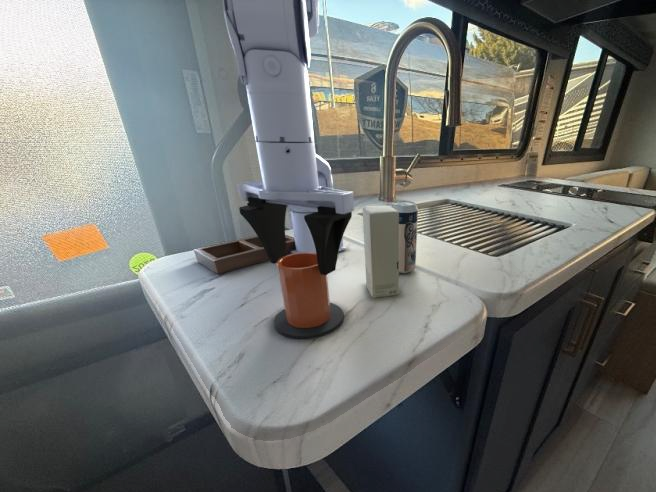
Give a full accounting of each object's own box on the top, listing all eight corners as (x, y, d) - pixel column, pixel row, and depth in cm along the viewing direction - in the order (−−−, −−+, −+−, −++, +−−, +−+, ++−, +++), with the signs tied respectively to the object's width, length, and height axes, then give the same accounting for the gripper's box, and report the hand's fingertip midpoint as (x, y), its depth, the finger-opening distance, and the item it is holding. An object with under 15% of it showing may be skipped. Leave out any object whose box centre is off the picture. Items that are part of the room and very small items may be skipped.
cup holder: (197, 261, 60) (193, 249, 58) (278, 242, 71) (276, 231, 70) (218, 274, 55) (214, 261, 53) (301, 250, 66) (299, 239, 65)
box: (399, 295, 49) (401, 211, 42) (371, 299, 47) (369, 213, 41) (390, 282, 53) (390, 204, 47) (364, 285, 52) (361, 205, 46)
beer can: (413, 275, 56) (415, 206, 50) (387, 273, 56) (387, 205, 51) (417, 266, 60) (420, 201, 54) (392, 263, 60) (393, 199, 55)
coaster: (316, 297, 47) (316, 295, 47) (357, 318, 42) (357, 315, 42) (260, 321, 41) (260, 318, 41) (301, 348, 36) (300, 345, 36)
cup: (302, 303, 45) (294, 250, 41) (337, 310, 43) (333, 255, 39) (278, 323, 40) (266, 265, 36) (316, 331, 38) (309, 271, 35)
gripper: (201, 140, 31) (233, 266, 38) (318, 144, 26) (331, 291, 32) (257, 140, 37) (276, 249, 43) (362, 143, 32) (366, 268, 38)
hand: (302, 266), depth 38 cm, fingers open, 7 cm apart
